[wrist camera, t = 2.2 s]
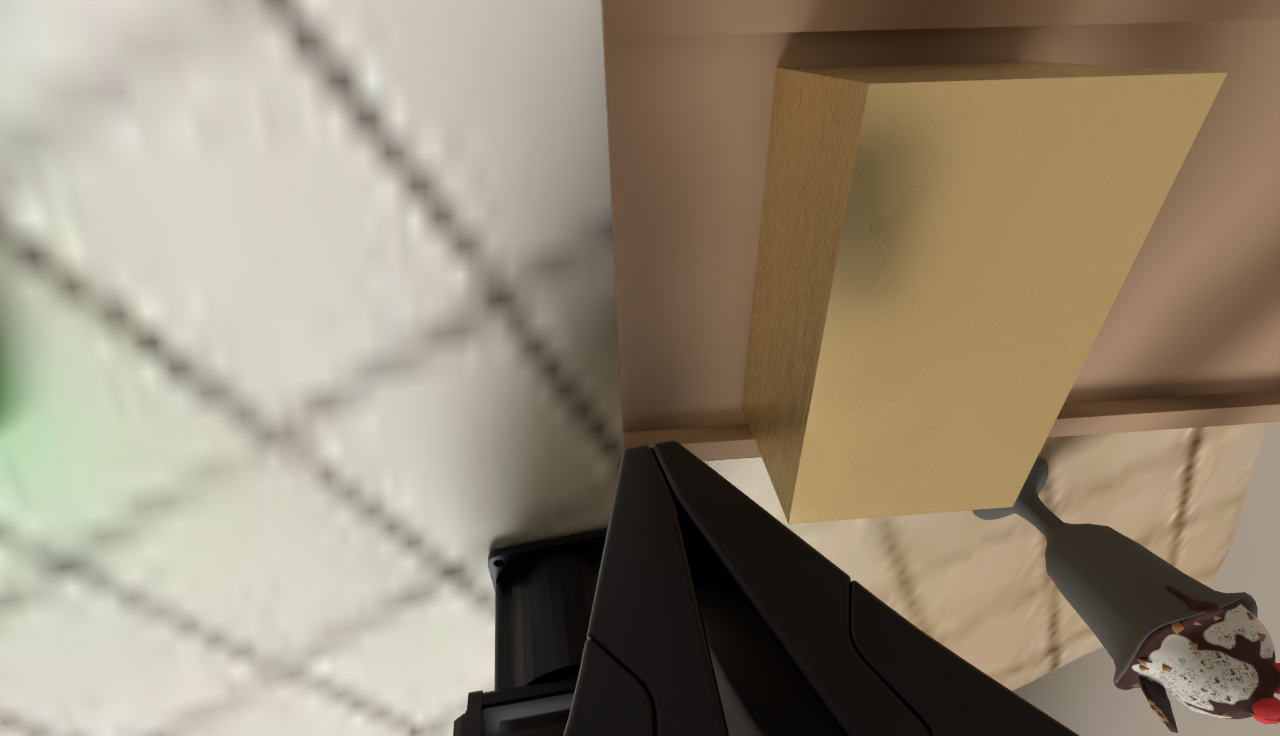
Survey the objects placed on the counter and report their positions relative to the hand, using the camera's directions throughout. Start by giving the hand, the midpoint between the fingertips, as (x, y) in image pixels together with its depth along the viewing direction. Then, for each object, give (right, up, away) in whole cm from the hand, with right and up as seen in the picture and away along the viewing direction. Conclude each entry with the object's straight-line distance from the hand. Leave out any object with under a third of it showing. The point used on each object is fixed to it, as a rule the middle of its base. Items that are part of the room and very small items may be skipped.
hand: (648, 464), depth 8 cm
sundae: (+22, -6, +24) cm, 33 cm away
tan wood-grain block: (+6, +5, +7) cm, 10 cm away
